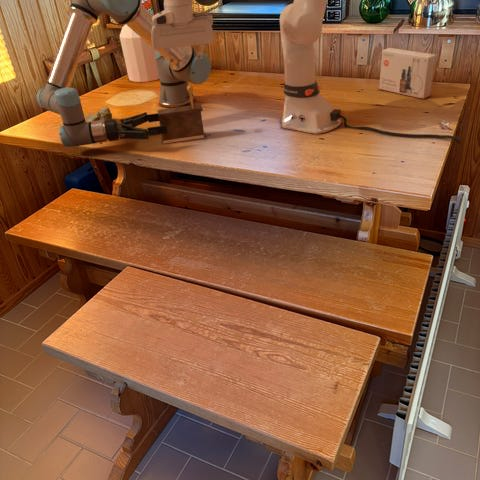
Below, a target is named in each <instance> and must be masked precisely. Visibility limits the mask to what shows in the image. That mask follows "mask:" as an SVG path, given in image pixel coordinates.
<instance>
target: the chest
mask: <svg viewBox="0 0 480 480" xmlns="http://www.w3.org/2000/svg"><path fill="white" fill-rule="evenodd" d="M158 122H159V126H164V125H166V126H167V132H168V133H167V134H161V137H162V142H163V144H169V143H177V142H184V141H185V142H186V141H191V140H198V139H204V138H205V132H204V123H203V116H202V111H198V112H191V113H184V114H177V115H169V116H162V117H159V121H158Z"/></svg>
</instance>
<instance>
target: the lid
mask: <svg viewBox="0 0 480 480" xmlns="http://www.w3.org/2000/svg"><path fill="white" fill-rule="evenodd" d="M187 90H188V93H190V100H191V104H189V105H185V106H181V107H173V108H170V107H167V108H162V109H157V113H158V117H162V116H169V115H177V114H184V113H191V112H198V111H201V112H203V106H202V104H201V103H197V104H194V101H193V97H192V93H193V94H194V87H193V85H191V84H189V85H188V86H187Z"/></svg>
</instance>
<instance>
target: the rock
mask: <svg viewBox="0 0 480 480" xmlns="http://www.w3.org/2000/svg"><path fill="white" fill-rule="evenodd" d="M108 119H113V113H112V112H111V109H110V107H108V106H106V105H105V106H103V107H102V108H101V109H98V110H97V111H96V113H87V114H85V120H86V122H93V121H99V120H103V121H104V122H105V120H108Z"/></svg>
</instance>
